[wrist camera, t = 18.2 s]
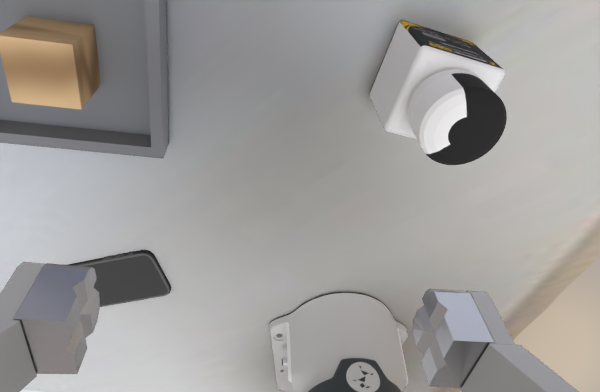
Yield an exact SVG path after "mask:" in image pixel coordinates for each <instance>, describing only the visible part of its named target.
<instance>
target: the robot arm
mask: <svg viewBox="0 0 600 392" xmlns="http://www.w3.org/2000/svg"><path fill="white" fill-rule="evenodd" d="M96 279H97V278H96V273H95V269H94V268H92V267H81V266H70V265H58V264H43V263H31V262H23V263H22V264H20V265H19V266H18V267H17V268H16V270H15V271H14V273H13V274H12V276H11V278H10V279H9V281H8V282H7V284H6V285H5V287H4V289H3V290H2V292H1V293H0V392H20V391H21V390H22V389H23V388H24V387H25V386H26V385H27V384H28V383H30V382H31V381H32V380H33V379H34V378H35V377H36V376H37V375H36V374H77V373H78V371H79V368H80V365H81V363H82V360H83V358H84V355H85V352H86V350H87V345H86V340H85V338H86V337H87V336H88V335H90V334H91V333H92V332H93V331H94V328H95V325H96V323H97V319H98V314H99V307H100V298H99V292H98V291H97V290H96V289H95V288H93V287H94V284H95V282H96ZM423 302H424V305H425V306H423V307H422V308H420V309H419V310H417V312H416V315H415V317H414V320H413V336H414V341H415V344H416V347H417V348H418V349H419V350H420V351H421V352H422V353H423V354H424V357H423V359H422V361H421V364H422V367H423V370H424V373H425V376H426V379H427V382H428V386H436V387H452V388H461V391H462V392H579V391H577V390H576V389H575V388H574V387H572V386H571V385H570V384H569V383H567V382H566V381H565V380H564V379H563V378H561V377H560V376H559V375H558V374H556V373H555V372H554V371H553V370H551V369H550V368H549V367H548V366H546V365H545V364H544V363H543V362H541V361H540V360H539V359H538V358H536V357H535V356H534V355H533V354H532V353H530V352H529V351H528V350H526V349H525V348H524V347H523V346H522V345H516V344H515V343H514V341H513V339H512V337H511V335H510V333H509V331H508V330H507V328H506V326H505V324H504V322H503V320H502V318H501V316H500V314H499V312H498V311H497V309H496V307H495V305H494V303H493V301H492V299H491V297H490V296H489V295H488V294H487V293H486V292H477V291H461V290H442V289H429V290H427V291H426V292H425V294H424V296H423ZM269 327H270V335H271V342H272V350H273V358H274V365H275V373H276V381H277V387H278V389H280V390H282V391H284V392H403V391H404V389H405V387H406V386H407V385H408V375H407V370H406V364H405V359H404V354H403V349H402V344H403V343H404V342H405V340H406V339H407V338H408V332H407V328H406V327H405V326H404V325H402V324H401V323H399V322H397V321H395V319H394V318H393V317H392V315H391V313H390V311H389V310H388V308H387V307H386V306H385V305H384V304H382V303H381V302H380V301H378V300H376V299H374V298H372V297H369V296H366V295H362V294H356V293H336V294H330V295H325V296H321V297H318V298H316V299H313V300H311V301H309V302H307V303H305V304H304V305H302V306H301V307H299V308H298V309H297V310H295V311H294V312H293V313H291V314H289V315H287V316H284V317H281V318H278V319H276V320H274V321H272V322H271V323H270V326H269Z"/></svg>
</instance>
